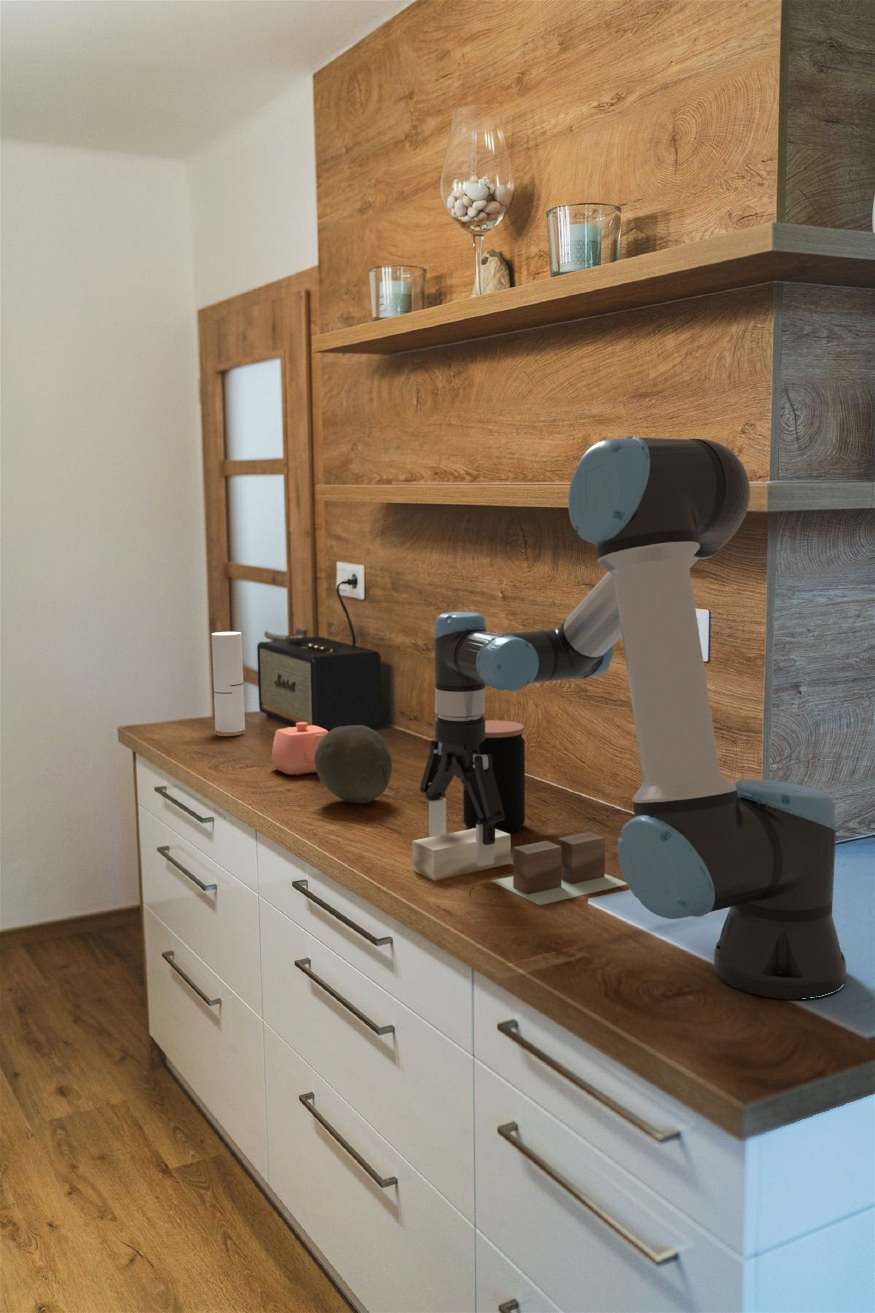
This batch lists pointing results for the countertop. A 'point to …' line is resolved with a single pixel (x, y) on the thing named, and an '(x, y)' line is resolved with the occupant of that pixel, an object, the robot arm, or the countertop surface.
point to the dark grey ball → (354, 763)
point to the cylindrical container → (228, 681)
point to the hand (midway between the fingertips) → (460, 852)
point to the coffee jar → (503, 774)
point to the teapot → (296, 748)
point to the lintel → (456, 854)
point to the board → (564, 889)
